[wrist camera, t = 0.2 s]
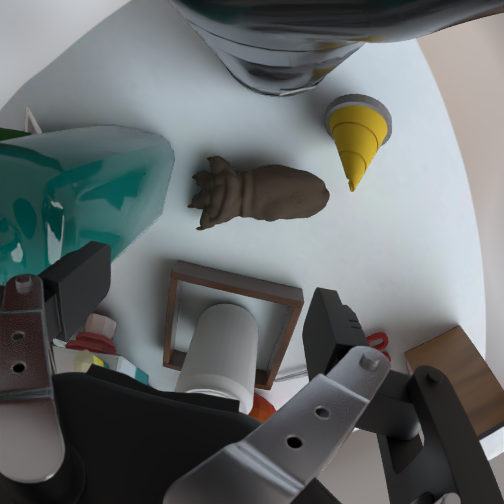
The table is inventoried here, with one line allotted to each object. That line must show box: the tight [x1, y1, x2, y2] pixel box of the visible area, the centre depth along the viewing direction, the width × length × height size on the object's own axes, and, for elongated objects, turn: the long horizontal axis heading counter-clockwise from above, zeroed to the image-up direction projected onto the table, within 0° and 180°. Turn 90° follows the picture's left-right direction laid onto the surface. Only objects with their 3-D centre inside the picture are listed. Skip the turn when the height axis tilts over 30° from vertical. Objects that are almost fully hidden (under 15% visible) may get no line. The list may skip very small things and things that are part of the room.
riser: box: [404, 325, 504, 461], centre depth 27 cm, size 8×8×16 cm
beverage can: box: [175, 304, 259, 415], centre depth 28 cm, size 6×6×12 cm
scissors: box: [274, 332, 391, 382], centre depth 34 cm, size 5×14×1 cm, turn 111°
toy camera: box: [53, 313, 148, 385], centre depth 33 cm, size 11×9×20 cm
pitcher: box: [0, 125, 175, 286], centre depth 17 cm, size 10×8×22 cm
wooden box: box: [163, 261, 304, 390], centre depth 32 cm, size 12×12×2 cm
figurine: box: [188, 156, 330, 230], centre depth 26 cm, size 6×4×12 cm
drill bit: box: [325, 94, 392, 192], centre depth 22 cm, size 5×5×10 cm
